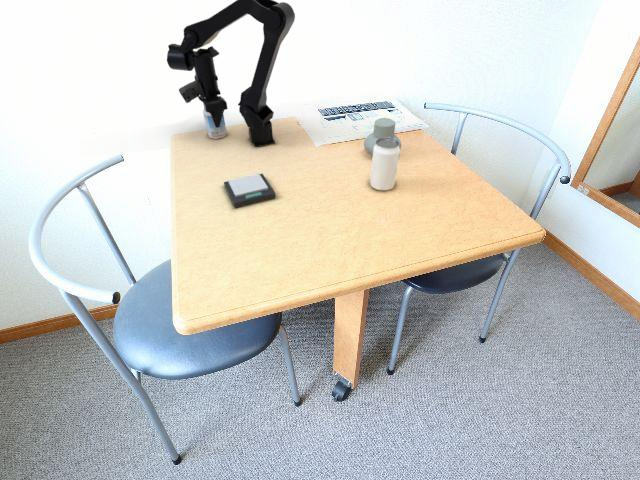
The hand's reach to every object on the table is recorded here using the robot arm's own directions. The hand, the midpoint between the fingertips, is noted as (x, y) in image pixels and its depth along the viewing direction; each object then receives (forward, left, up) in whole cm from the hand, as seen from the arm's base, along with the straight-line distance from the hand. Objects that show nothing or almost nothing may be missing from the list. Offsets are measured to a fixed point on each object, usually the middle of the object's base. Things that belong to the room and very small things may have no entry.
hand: (215, 123), depth 118 cm
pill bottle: (0, 0, -4) cm, 4 cm away
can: (-33, +48, -4) cm, 59 cm away
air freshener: (-42, +33, -4) cm, 54 cm away
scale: (0, +37, -4) cm, 38 cm away
